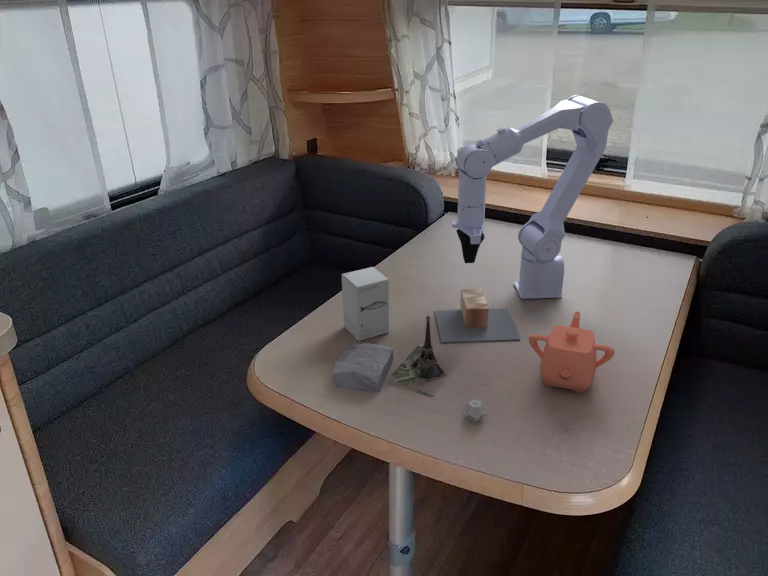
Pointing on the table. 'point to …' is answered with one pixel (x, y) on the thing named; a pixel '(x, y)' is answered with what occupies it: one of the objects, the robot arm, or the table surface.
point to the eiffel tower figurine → (419, 364)
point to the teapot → (569, 356)
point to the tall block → (474, 308)
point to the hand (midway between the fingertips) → (469, 261)
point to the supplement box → (365, 303)
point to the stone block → (363, 367)
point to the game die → (474, 410)
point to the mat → (456, 330)
